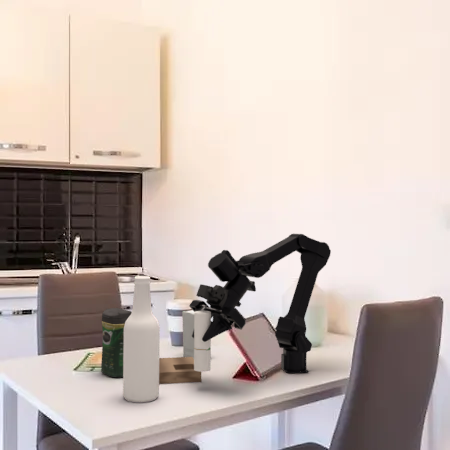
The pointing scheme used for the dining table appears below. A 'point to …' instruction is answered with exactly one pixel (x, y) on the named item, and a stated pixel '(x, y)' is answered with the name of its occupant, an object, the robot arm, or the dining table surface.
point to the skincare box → (188, 333)
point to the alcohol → (141, 347)
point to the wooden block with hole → (178, 370)
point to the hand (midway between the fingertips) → (198, 339)
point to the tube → (200, 347)
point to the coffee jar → (113, 341)
